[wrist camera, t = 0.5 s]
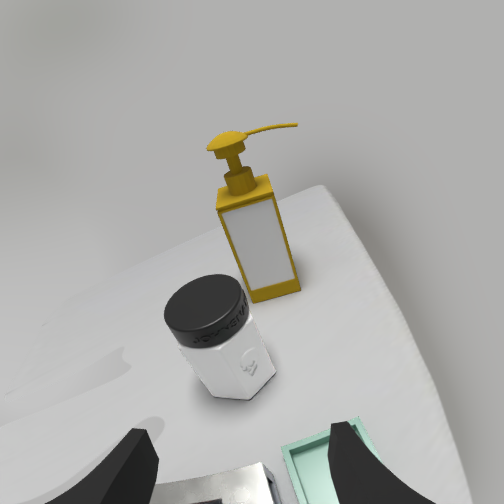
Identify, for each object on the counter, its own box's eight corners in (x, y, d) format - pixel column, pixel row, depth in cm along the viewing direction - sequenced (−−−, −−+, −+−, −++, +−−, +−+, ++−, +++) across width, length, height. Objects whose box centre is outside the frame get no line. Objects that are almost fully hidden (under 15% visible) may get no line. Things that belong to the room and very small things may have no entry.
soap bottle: (337, 279, 45) (300, 115, 33) (253, 303, 46) (192, 148, 34) (325, 253, 51) (290, 109, 39) (250, 275, 52) (199, 137, 40)
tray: (390, 486, 19) (392, 482, 18) (307, 520, 19) (304, 517, 18) (359, 424, 26) (358, 416, 25) (285, 453, 26) (280, 447, 25)
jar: (237, 415, 31) (190, 347, 25) (194, 381, 37) (146, 313, 31) (290, 360, 35) (262, 283, 29) (243, 335, 41) (209, 263, 35)
